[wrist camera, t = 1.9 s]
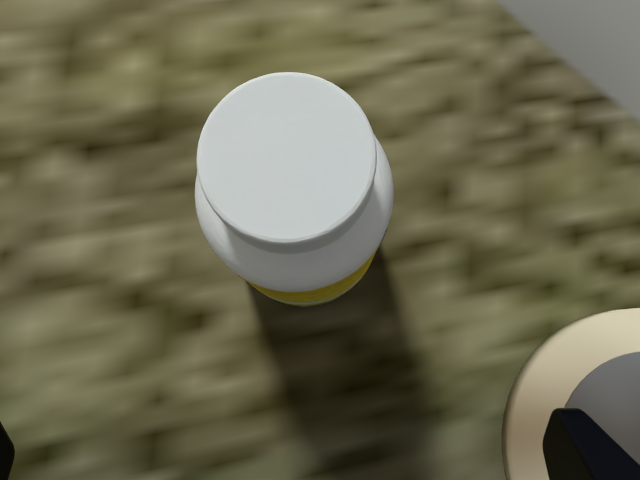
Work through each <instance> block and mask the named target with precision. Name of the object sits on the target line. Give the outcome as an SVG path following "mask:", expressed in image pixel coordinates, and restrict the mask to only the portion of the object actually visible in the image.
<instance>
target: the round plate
mask: <svg viewBox="0 0 640 480" xmlns="http://www.w3.org/2000/svg"><path fill="white" fill-rule="evenodd" d="M556 408H579V409H581V410H583V411H584V412H586V413H587V414H588V415H589V416H590V417H591V418H592V419H593V420H594V421H595V422H596V423H597V424H598V425H599V426H600V427H601V428H602V429H603V430H604V431H605V432H606V433H607V434H608V435H609V436H610V437H611V438H612V439H613V440H615V441H616V442H617V443H618V444H619V445H620V446H621V447H622V448H623V449H624V450H625V451H626V452H627V453H628V454H629V455H630V456H631V457H632V458H633V459H634V460H635V461H636V462H637V463H638V464H639V465H640V308H634V309H623V310H613V311H606V312H601V313H597V314H592V315H589V316H587V317H584V318H581V319H578V320H576V321H574V322H572V323H570V324H568V325H566V326H564V327H563V328H561V329H559V330H558V331H557V332H555V333H554V334H552V335H551V336H550V337H548V338H547V339H546V340H545V341H544V342H543V343H542V344H541V345H540V346H539V347H538V348H537V349H536V350H535V351H534V352H533V353H532V354H531V356H530V357H529V358H528V360H527V361H526V362H525V364H524V365H523V367H522V368H521V370H520V372H519V374H518V375H517V377H516V379H515V381H514V384H513V386H512V389H511V391H510V393H509V396H508V400H507V404H506V408H505V411H504V417H503V425H502V456H503V463H504V470H505V474H506V478H507V480H549V477H548V472H547V468H546V463H545V459H544V454H543V447H542V443H543V437H544V434H545V431H546V428H547V425H548V422H549V419H550V416H551V413H552V411H553V410H554V409H556Z"/></svg>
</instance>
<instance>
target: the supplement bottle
mask: <svg viewBox="0 0 640 480" xmlns="http://www.w3.org/2000/svg"><path fill="white" fill-rule="evenodd" d="M195 203H196V211H197V216H198V220H199V223H200V226H201V228H202V231H203V233H204V235H205V237H206V239H207V241H208V243H209V245H210V246H211V248H212V249H213V250H214V252H215V253H216V255H217V256H218V257H219V258H220V259H221V260H222V262H223V263H224V264H225V265H226V266H227V267H228V268H230V269H231V270H232V271H233V272H234V273H235V274H237V275H238V276H239V277H241V278H242V279H244V280H245V281H246V282H248V283H249V284H250V285H252V286H253V287H254V288H256V289H257V290H258V291H260V292H261V293H263V294H264V295H265V296H267V297H269V298H271V299H273V300H275V301H278V302H281V303H284V304H287V305H292V306H303V307H306V306H316V305H321V304H325V303H328V302H330V301H333V300H335V299H337V298H339V297H340V296H342V295H344V294H345V293H347V292H348V291H350V290H351V289H352V288H353V287H354V286H355V285H356V284H357V283H358V282H359V281H360V280H361V279H362V277H363V276H364V274H365V273H366V271H367V269H368V268H369V266H370V264H371V262H372V260H373V258H374V256H375V253H376V251H377V249H378V247H379V246H380V244H381V242H382V240H383V238H384V235H385V233H386V230H387V226H388V223H389V220H390V216H391V211H392V205H393V180H392V174H391V170H390V166H389V163H388V160H387V157H386V155H385V153H384V151H383V149H382V147H381V145H380V143H379V142H378V140H377V139H376V137H375V136H374V134H373V131H372V128H371V126H370V124H369V121H368V120H367V118H366V116H365V114H364V112H363V111H362V109H361V108H360V106H359V105H358V104H357V103H356V102H355V101H354V100H353V99H352V98H351V97H350V96H349V95H348V94H347V93H346V92H345V91H343V90H342V89H340V88H339V87H337V86H336V85H334V84H333V83H331V82H329V81H326V80H324V79H322V78H319V77H316V76H313V75H309V74H304V73H294V72H285V73H273V74H268V75H264V76H261V77H258V78H255V79H252V80H250V81H248V82H245V83H244V84H242V85H240V86H238V87H237V88H235V89H234V90H233V91H231V92H230V93H229V94H228V95H226V96H225V97H224V98H223V99H222V100H221V102H220V103H219V104H218V105H217V106H216V107H215V109H214V110H213V111H212V113H211V114H210V115H209V117H208V119H207V121H206V123H205V125H204V127H203V130H202V133H201V136H200V139H199V143H198V150H197V177H196V184H195Z"/></svg>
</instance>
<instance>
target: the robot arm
mask: <svg viewBox="0 0 640 480" xmlns="http://www.w3.org/2000/svg"><path fill="white" fill-rule="evenodd" d="M542 447H543V454H544V459H545V463H546V468H547V472H548V477H549V480H640V465H639V464H638V463H637V462H636V461H635V460H634V459H633V458H632V457H631V456H630V455H629V454H628V453H627V452H626V451H625V450H624V449H623V448H622V447H621V446H620V445H619V444H618V443H617V442H616V441H615V440H613V439H612V438H611V437H610V436H609V435H608V434H607V433H606V432H605V431H604V430H603V429H602V428H601V427H600V426H599V425H598V424H597V423H596V422H595V421H594V420H593V419H592V418H591V417H590V416H589V415H588V414H587V413H586V412H584V411H583V410H581V409H579V408H556V409H554V410H553V411H552V413H551V416H550V419H549V422H548V425H547V428H546V431H545V434H544V437H543V443H542ZM14 455H15V450H14V445H13V443H12V441H11V439H10V438H9V436H8V434H7V432H6V431H5V429H4V427H3V425H2V424H1V422H0V480H8V478H9V475H10V471H11V468H12V465H13V461H14Z"/></svg>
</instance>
